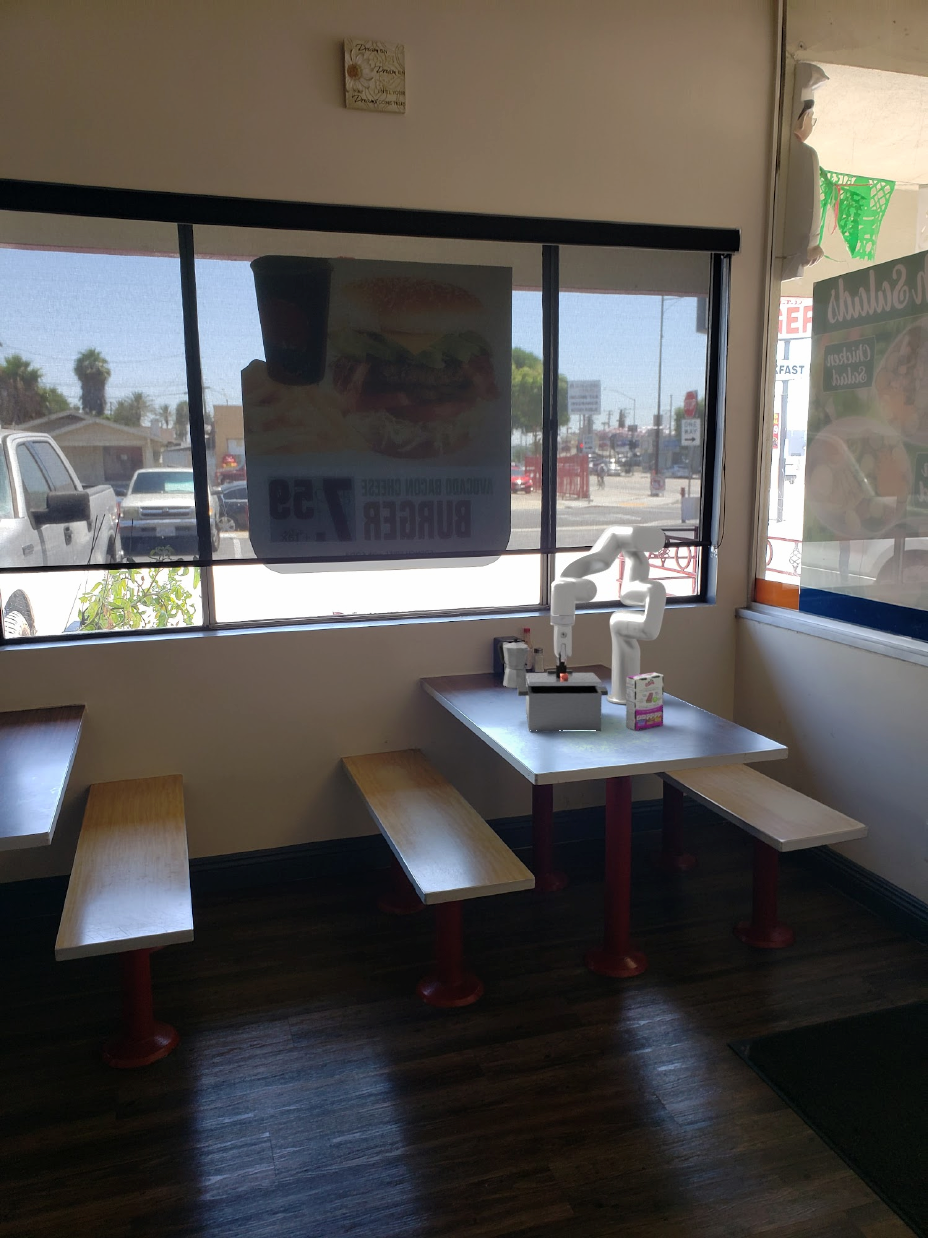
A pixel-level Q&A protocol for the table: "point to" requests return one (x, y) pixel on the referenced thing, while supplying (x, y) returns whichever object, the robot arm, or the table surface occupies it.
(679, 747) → the table surface
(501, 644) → the coffeepot
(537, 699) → the grey metal box
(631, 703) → the candy bar box
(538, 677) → the cooker lid
